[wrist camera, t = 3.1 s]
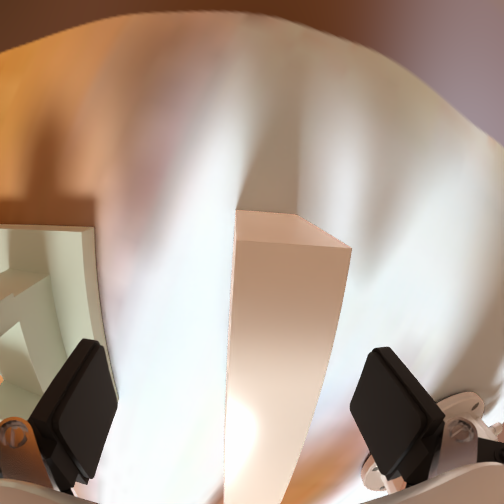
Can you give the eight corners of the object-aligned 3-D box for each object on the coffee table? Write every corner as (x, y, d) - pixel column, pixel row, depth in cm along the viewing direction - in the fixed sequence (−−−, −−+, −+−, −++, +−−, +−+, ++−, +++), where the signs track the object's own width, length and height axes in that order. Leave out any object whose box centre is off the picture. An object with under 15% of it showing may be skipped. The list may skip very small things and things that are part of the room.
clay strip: (235, 209, 12) (236, 240, 6) (295, 214, 12) (351, 248, 6) (224, 421, 15) (223, 506, 9) (267, 422, 15) (279, 506, 9)
